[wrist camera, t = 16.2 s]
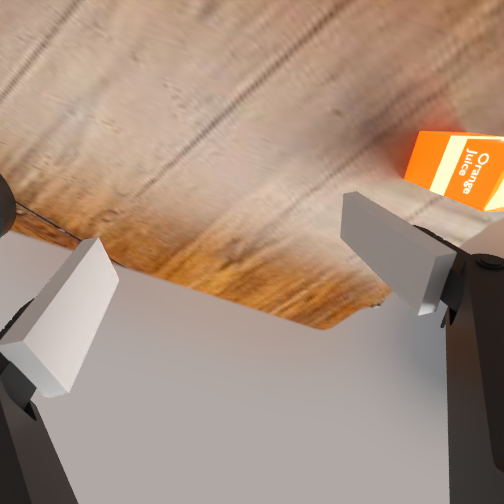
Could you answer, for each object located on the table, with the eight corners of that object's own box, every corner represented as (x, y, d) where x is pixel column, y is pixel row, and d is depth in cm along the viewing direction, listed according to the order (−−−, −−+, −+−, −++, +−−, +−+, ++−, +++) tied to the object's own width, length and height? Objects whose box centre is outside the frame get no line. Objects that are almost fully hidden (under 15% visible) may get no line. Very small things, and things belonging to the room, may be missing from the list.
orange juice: (419, 130, 40) (578, 153, 23) (468, 131, 42) (650, 155, 25) (402, 180, 44) (527, 232, 27) (447, 180, 46) (592, 229, 29)
